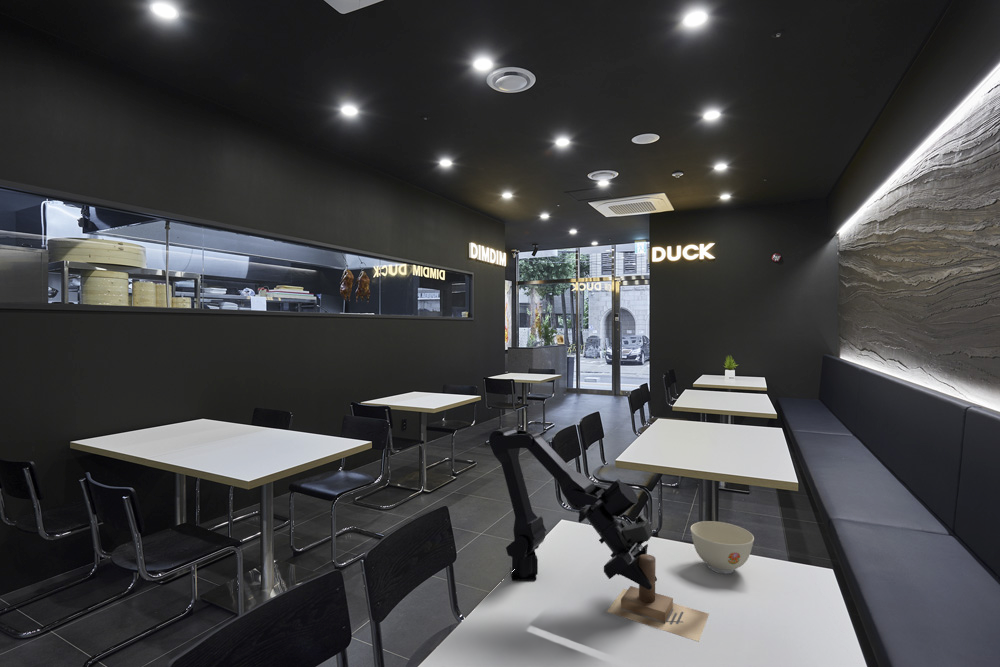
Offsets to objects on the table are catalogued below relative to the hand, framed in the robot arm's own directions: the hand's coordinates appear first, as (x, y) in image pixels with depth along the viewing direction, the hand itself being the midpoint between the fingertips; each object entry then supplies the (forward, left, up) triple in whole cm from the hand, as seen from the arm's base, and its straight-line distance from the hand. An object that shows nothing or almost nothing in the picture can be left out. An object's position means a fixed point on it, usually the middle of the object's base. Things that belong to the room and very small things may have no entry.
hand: (653, 585), depth 115 cm
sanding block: (-1, +1, -6) cm, 6 cm away
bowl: (+27, +22, -7) cm, 35 cm away
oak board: (+1, -1, -7) cm, 7 cm away
